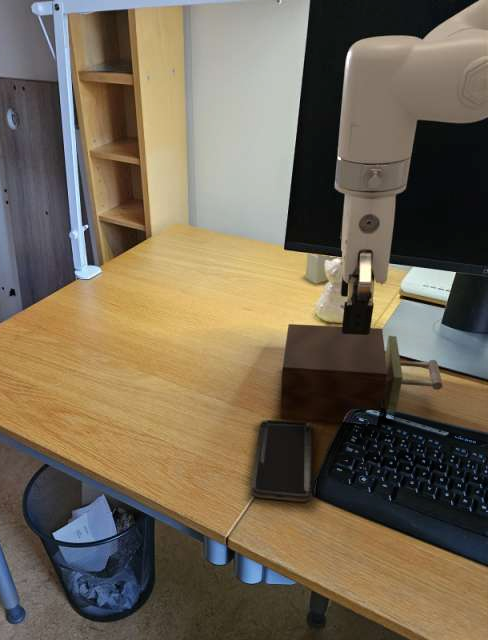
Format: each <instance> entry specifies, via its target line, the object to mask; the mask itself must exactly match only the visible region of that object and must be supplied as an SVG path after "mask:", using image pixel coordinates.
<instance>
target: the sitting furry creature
mask: <svg viewBox="0 0 488 640" xmlns="http://www.w3.org/2000/svg"><path fill="white" fill-rule="evenodd" d="M324 267H325V272H326V277H327V278H328V280H327V283H326V284H325V286H324V287H323V289H324V290H323V291H322V292H321V293H322V294H321V295H320V297H319V298H318V300H317V301H316V303H315V305H314V307H315V308H314V311H315V314H316V315H317V317H318V318H319V319H322V320H323V321H325V322H327V323H337V324H342V323H343V314H344V305H345V302H347V299H348V297H343V296H341V286H342V276H343V270H342V260H341V259H339V258H337V259H333V260H332V261H329V260H326V261H325V265H324Z"/></svg>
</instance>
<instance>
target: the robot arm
mask: <svg viewBox="0 0 488 640" xmlns="http://www.w3.org/2000/svg"><path fill="white" fill-rule="evenodd" d="M340 110H341V111H340V120H339V121H340V122H339V130H338V131H339V132H338V145H337V156H336V157H337V158H336V169H335V178H334V179H335V180H334V189H335V190H336V191H337V192H339V193H342V194H344V199H343V200H344V202H343V211H342V224H341V251H342V270H343V276H342V286H341V296H343V297H348V299H347V302H345V305H344V314H343V323H341V327H342V333H343V334H356V335H368V334H369V333H370V328H372V320H373V313H374V307H375V303H374V292H375V283H376V284H377V283H378V284H380V285H384V284H386V282H387V281H388V275H389V274H388V273H389V265H390V257H391V250H392V242H393V241H392V240H393V232H394V224H395V215H396V213H395V212H396V200H397V199H396V197H397V195H398V194H401V193H403V192H404V191H405V190H406V189H407V184H408V178H409V171H410V167H411V166H410V165H411V159H412V153H413V147H414V146H413V145H414V142H415V135H416V129H417V123H418V121H431V122H441V123H451V124H471V123H476V122H479V121H482V120H485V119H487V118H488V0H478V1H477V0H476V1H475V2H474V3H472V4H470V5H469V6H467V7H466V8H464V9H462V10H461V11H460V12H458V13H456V14H455V15H453V16H452V17H450V18H448V19H446V20H445V21H444V22H442V23H440V24H438V25H437V26H436V27H435V28H433V29H432V30H431V31H430V32H429V33H428V34H426V36H425V37H423V39H422V38H419V37H418V36H412V35H384V36H383V35H381V36H371V37H367V38H363V39H360V40H358V41H355V43H353V44H352V45H351V46H350V47H349V49H348V52H347V54H346V58H345V65H344V76H343V87H342V98H341V109H340Z"/></svg>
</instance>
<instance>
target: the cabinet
mask: <svg viewBox="0 0 488 640" xmlns="http://www.w3.org/2000/svg"><path fill="white" fill-rule="evenodd" d="M383 330H384V329H383V328H376V327H370V333H369V334H368V335H356V334H343V333H342V326H337V325H319V324H317V325H316V324H315V325H314V324H298V323H297V324H296V323H288V325H287V331H286V332H287V333H286V340H285V346H284V351H283V359H282V367H281V386H280V408H279V419H287V420H298V421H299V420H300V421H313V422H324V423H325V422H326V423H336V424H343V423H342V422H343V420H344V417H345V416H346V414H347V413H348V412H349V411H350V410H352V409H362V410H381V411H382V406H383V402H384V397H383V396H384V390H385V385H386V380H387V374H388V373H387V365H386V356H385V353H386V347H385V340H384V331H383Z"/></svg>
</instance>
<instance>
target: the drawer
mask: <svg viewBox="0 0 488 640" xmlns="http://www.w3.org/2000/svg"><path fill="white" fill-rule="evenodd" d="M397 339H398V338H397V336H395V335H388V337H387V343H386V347H385V356H386V365H387V373H388V374H387V380H386V385H385V390H384V396H383V407H384V410H385V409H386V410H389V411H393V412H396V413H397V408H398V403H399V397H400V392H401V387H402V385H404V386H419V387H421V386H422V387H432V389H434V390H436V391H437V390H441V389H442V388H443V386H444V385H443V380H442V376H441V373H440V368H439V364H438V361H437V360H435V359H430V360H429V361H412V360H411V361H409V360H407V361H406V360H401V357H400V351H399V345H398V340H397ZM402 367H411V368H412V367H415V368H427V369H428V374H429V378H430V380H423V379H421V380H420V379H407V378H403V377H404V376H403V371H402Z"/></svg>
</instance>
